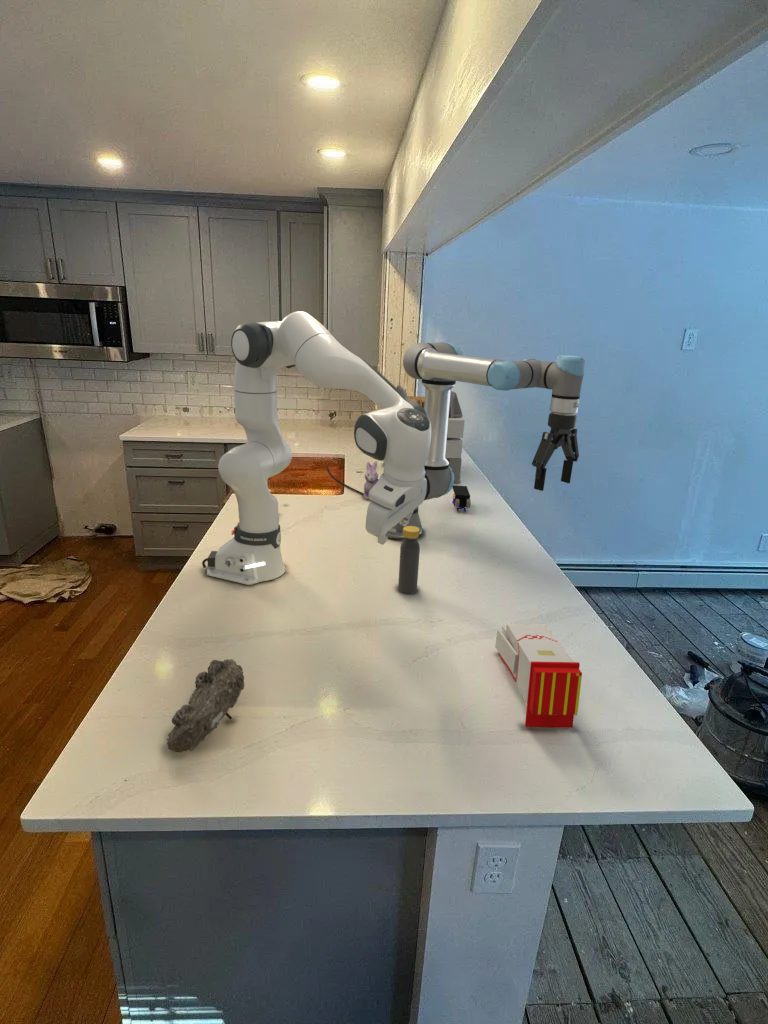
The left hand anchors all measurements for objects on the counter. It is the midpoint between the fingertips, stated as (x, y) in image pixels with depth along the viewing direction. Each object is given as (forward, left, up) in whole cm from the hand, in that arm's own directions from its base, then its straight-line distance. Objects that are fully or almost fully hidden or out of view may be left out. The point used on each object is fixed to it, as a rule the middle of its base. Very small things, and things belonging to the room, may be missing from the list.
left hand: (393, 533), depth 131 cm
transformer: (-9, +144, -26) cm, 147 cm away
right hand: (+40, +44, +2) cm, 60 cm away
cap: (+2, +23, -8) cm, 24 cm away
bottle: (+2, +23, -26) cm, 35 cm away
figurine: (-24, +101, -26) cm, 107 cm away
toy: (+33, -14, -26) cm, 44 cm away
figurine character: (+13, +98, -26) cm, 103 cm away
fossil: (-27, -39, -26) cm, 54 cm away
